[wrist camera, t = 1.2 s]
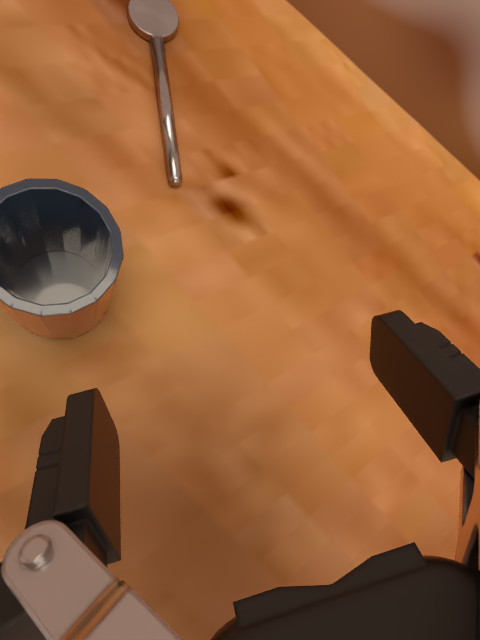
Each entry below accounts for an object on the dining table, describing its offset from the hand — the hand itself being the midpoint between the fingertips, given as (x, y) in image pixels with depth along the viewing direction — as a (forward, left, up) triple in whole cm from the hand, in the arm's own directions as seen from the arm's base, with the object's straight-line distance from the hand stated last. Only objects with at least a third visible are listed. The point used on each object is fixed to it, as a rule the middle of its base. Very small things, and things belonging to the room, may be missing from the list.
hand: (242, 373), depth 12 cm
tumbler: (-5, +7, -18) cm, 20 cm away
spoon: (+3, +22, -18) cm, 28 cm away
